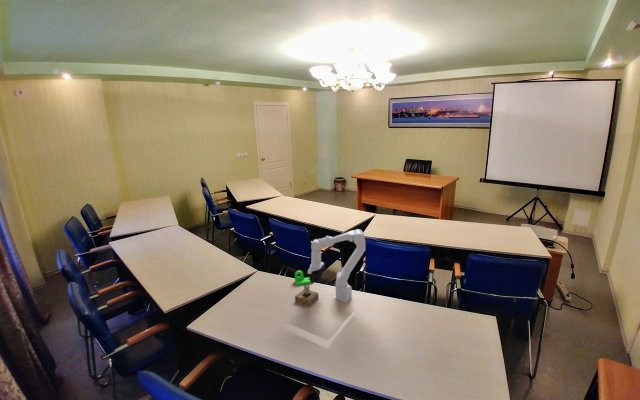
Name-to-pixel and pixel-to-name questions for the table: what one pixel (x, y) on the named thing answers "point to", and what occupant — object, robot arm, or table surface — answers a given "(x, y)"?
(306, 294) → the metal peg
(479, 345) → the table surface
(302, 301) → the square wooden ring
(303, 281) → the mechanical part
